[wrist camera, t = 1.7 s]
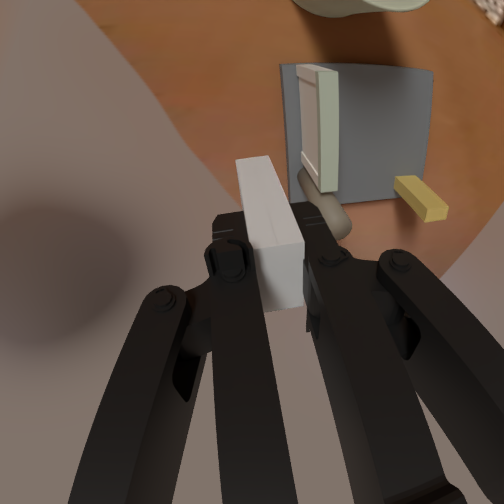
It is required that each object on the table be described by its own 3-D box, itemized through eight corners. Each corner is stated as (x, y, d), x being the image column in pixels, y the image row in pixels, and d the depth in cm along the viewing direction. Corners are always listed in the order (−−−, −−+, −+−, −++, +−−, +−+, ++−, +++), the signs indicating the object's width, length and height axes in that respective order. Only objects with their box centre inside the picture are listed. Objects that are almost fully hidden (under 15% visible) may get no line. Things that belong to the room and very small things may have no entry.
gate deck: (427, 70, 25) (495, 94, 17) (414, 191, 35) (462, 242, 27) (279, 64, 25) (312, 76, 17) (288, 204, 35) (313, 268, 27)
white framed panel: (315, 160, 30) (337, 190, 25) (301, 161, 30) (320, 192, 25) (311, 64, 24) (337, 71, 19) (295, 64, 24) (318, 71, 19)
